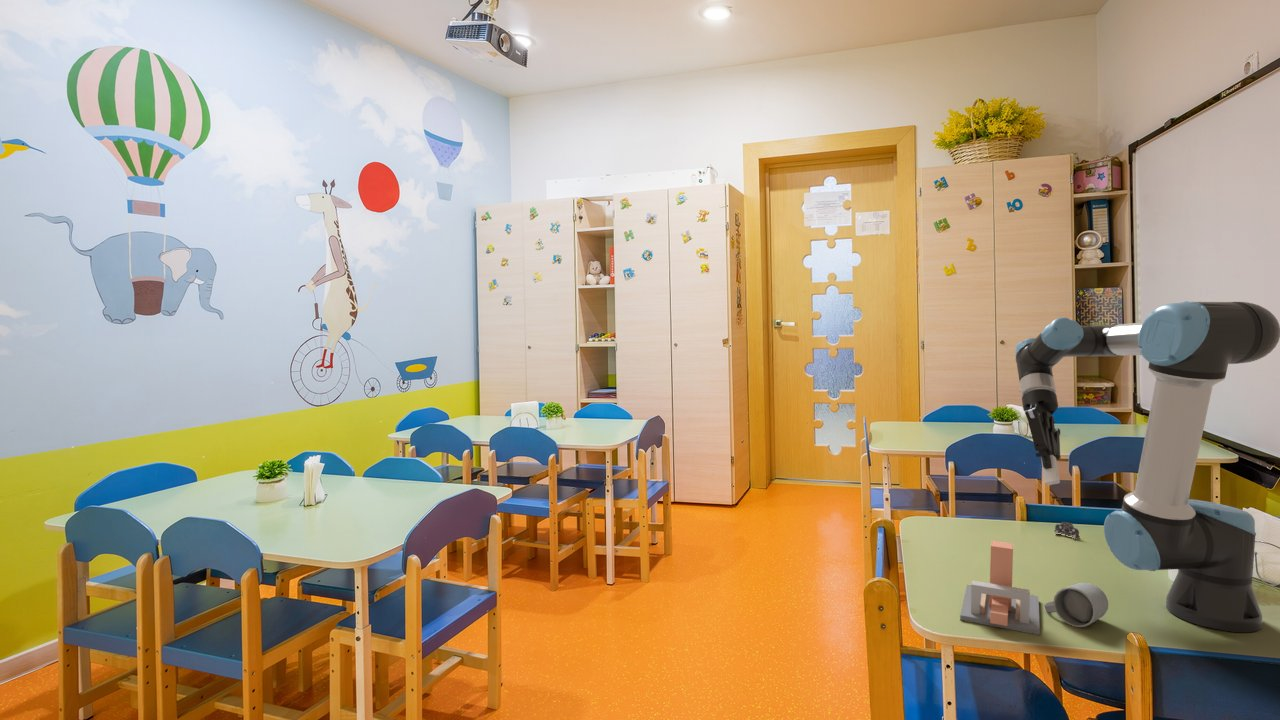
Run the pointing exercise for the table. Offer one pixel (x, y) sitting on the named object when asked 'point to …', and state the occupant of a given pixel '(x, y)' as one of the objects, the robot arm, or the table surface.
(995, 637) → the table surface
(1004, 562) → the clip bar
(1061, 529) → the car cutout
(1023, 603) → the mount
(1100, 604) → the ceramic mug
